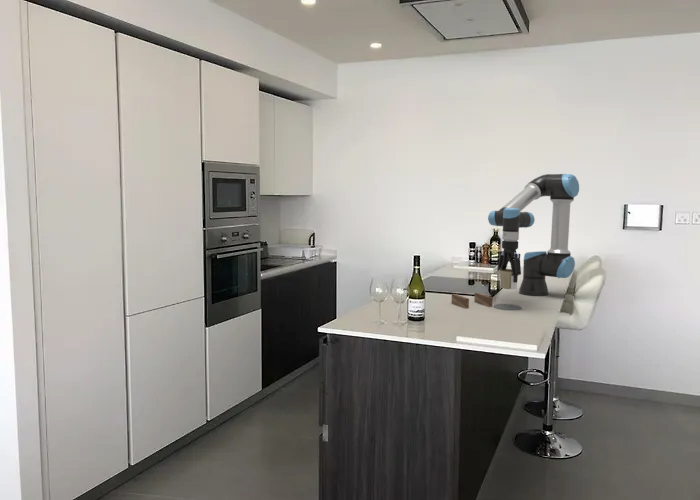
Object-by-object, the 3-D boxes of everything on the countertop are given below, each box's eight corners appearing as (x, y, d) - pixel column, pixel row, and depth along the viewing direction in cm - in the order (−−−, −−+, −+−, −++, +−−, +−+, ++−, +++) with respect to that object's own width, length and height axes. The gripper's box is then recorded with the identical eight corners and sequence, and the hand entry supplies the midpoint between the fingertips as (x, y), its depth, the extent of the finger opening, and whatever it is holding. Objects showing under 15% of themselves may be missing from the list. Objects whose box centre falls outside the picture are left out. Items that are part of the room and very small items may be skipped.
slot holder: (477, 301, 298) (478, 292, 298) (492, 306, 286) (492, 297, 286) (451, 303, 293) (451, 294, 293) (465, 308, 281) (465, 298, 281)
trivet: (511, 304, 293) (511, 303, 293) (527, 309, 281) (527, 308, 280) (488, 305, 288) (488, 304, 288) (503, 310, 276) (503, 309, 276)
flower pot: (519, 290, 278) (519, 272, 277) (498, 289, 280) (499, 271, 279) (517, 287, 287) (518, 269, 286) (497, 286, 289) (498, 268, 288)
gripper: (491, 238, 290) (489, 284, 292) (516, 242, 270) (514, 291, 272) (504, 238, 292) (502, 284, 294) (530, 242, 273) (528, 290, 275)
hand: (508, 287), depth 283 cm, fingers closed on flower pot, 8 cm apart
